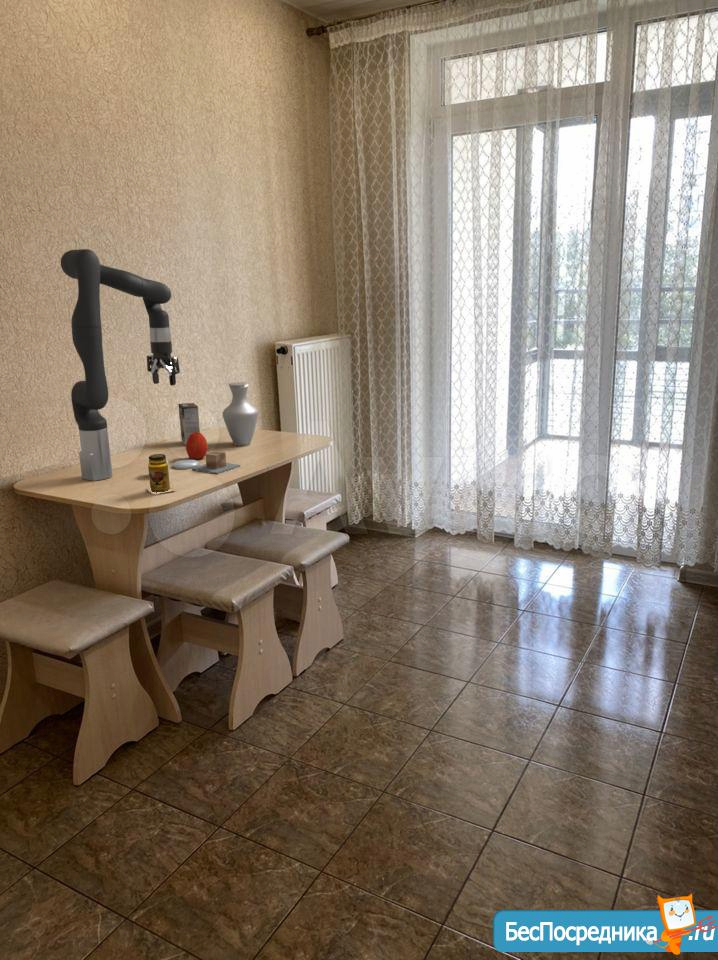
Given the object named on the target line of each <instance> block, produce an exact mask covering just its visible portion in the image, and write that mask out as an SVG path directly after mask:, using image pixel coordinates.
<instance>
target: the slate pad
mask: <svg viewBox="0 0 718 960" xmlns="http://www.w3.org/2000/svg"><path fill="white" fill-rule="evenodd" d="M237 467H238V468H241V465H240V464H237V463H230V462H226V466H225V467H222V468H219V469H213V468H207V467H206V463H205V464H201V465H199V466H198V467H195V468H191V469H192V471H196V470H198V471H197V472H201V471H204V472H203V473H207V472H210V473H209V474H213V473H216V474H215V475H220V474H223V473H225V471H226V472H229V471H231V469H232V470H235V469H237ZM234 468H235V469H234ZM228 470H229V471H228ZM222 472H223V473H222ZM219 473H220V474H219Z"/></svg>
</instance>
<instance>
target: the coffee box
mask: <svg viewBox="0 0 718 960" xmlns="http://www.w3.org/2000/svg"><path fill="white" fill-rule="evenodd" d="M178 414H179V425H180V438H181V443H182V444H183V445H185V446H186V443H187V440H188V438H189V436H190V434H191V433H195V432H200V433H201V431H200V416H199V414H200V413H199V406H198V405H197V404H195V403H194V402H186V403H178Z"/></svg>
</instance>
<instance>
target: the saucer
mask: <svg viewBox="0 0 718 960" xmlns="http://www.w3.org/2000/svg"><path fill="white" fill-rule="evenodd" d="M199 463H200V462H199V460H198V459H196V460H193V459H180V460H176V461H174V462H173V468H174V469H177V470H189V469H190V468H191V469H192V468H195V467H198V466H200V464H199Z"/></svg>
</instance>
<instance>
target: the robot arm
mask: <svg viewBox="0 0 718 960" xmlns="http://www.w3.org/2000/svg"><path fill="white" fill-rule="evenodd" d="M60 268H61V269H62V271H63V272H64V275H66V276H67V277H69V278H72V279H75V280H77V286H78V287H77V289H78V294H77V295H78V297H77V300H76V304H75V306H74V309H73V313H72V316H71V319H70V320H71V321H70V322H71V324H70V326H71V335H72V336H71V337H72V339H71V340H72V343H73V347H75V350H76V352H77V355H78V357H79V358H80V359H79V360H80V361H81V362H82V365H83V370H84V379H85V380H79V381H77V382H76V383H75V384H74V385H73V386H72V388H71V391H70V397H71V404H72V405H71V406H72V410H73V417H74V420H75V422H76V424H77V427H78V428H77V429H78V434H79V442H80V443H79V444H80V451H79V452H78V456H79V464H80V473H81V479H83V480H87V481H93V482H94V481H99V480H100V481H101V480H105V479H110V478H113V476H114V475H113V467H112V458H111V448H110V439H109V431H108V429H109V428H108V422H107V419H106V418H105V417H104V416H103V415H102V414H101V413H100V410H102V409H104V408H105V407H106V405H107V404H108V401H109V386H108V383H107V381H108V380H107V376H106V370H105V369H106V368H105V363H104V361H105V360H104V359H105V358H104V351H103V348H104V347H103V331H102V320H101V300H100V297H101V296H100V292H101V289H100V287H101V285H103V286H107V287H109V288H112V289H114V290H117V291H120V292H122V293H125V294H127V295H130V296H133V297H137V298H142V300H143V304H144V307H145V310H146V313H147V316H148V325H149V342H150V343H149V344H150V353H151V354H150V355H146V365H147V366H146V367H147V372H149V373H151V374H152V375H151V377H152V382H153V383H152V384H153V385H158V384H160V375H159V371H160V370H161V369H164V371H166V372H167V373H168V375H169V376H168V380H169V386H171V387H172V386H175V385H177V384H176V383H177V378H176V377H177V376H176V375H177V374H180V373H181V370H180V362H179V357H178V356H172V353H173V344H172V343H173V342H172V333H171V328H170V317H169V313H168V311H166V310H163V308H162V305H163V304H164V305H165V304H167V303H168V302H169V301H170V300H171V298H172V290H171V289H170V288H169V286H168V285H166V284H165V283H163V282H160V281H156V280H152V279H147V278H146V277H145V278H144V277H142V276H140V275H137V274H135V273H133V272H130V271H126V270H123V269H118V268H114V267H111V266H106V265H103V264H101V262H100V259H99V257H98V255H97V254H96V253H95V252H94V250H92V249H88V248H80V249H79V248H78V249H70V250H68V251H66V252H64V253H63V255H62V256H61V258H60Z"/></svg>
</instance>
